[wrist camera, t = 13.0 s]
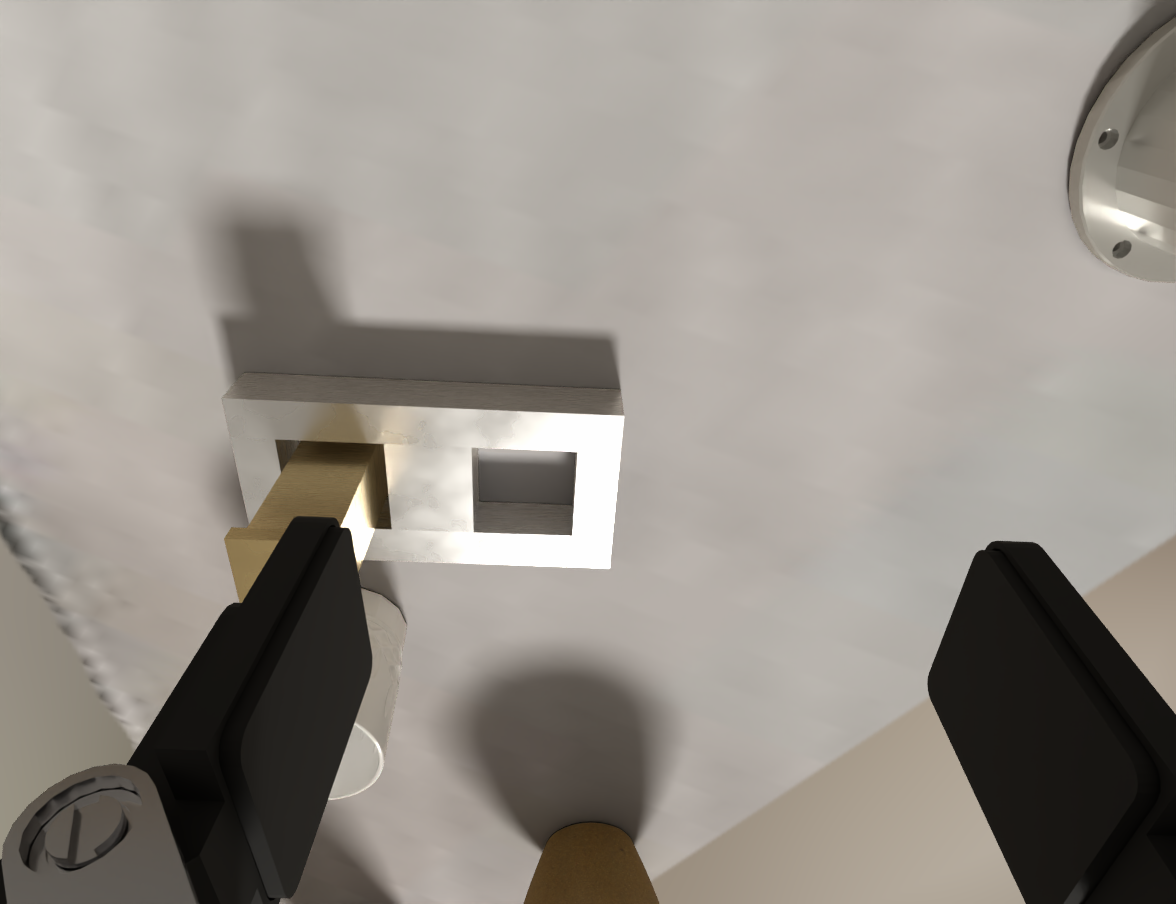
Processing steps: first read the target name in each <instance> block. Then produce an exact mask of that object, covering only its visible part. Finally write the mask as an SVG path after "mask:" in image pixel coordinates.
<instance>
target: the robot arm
mask: <svg viewBox="0 0 1176 904" xmlns="http://www.w3.org/2000/svg"><path fill="white" fill-rule="evenodd" d="M1100 136H1101V137H1100ZM1069 201H1070V208H1071V214H1072V219H1073V222H1074V224H1075V227H1076V229H1077V231H1078V234H1079V236H1080V239H1081V240H1082V241H1083V242H1084V244H1085V245H1086V246H1087V248H1088V249H1089V250H1090V252H1091V253H1092V254H1093V255H1094V256H1095V257H1097V258H1098V259H1099V260H1101V261H1102V262H1103V263H1105V264H1106V265H1107V266H1109V267H1111V268H1113V269H1115V270H1117V271H1120V272H1121V273H1123V274H1125V275H1127V276H1130V277H1134V278H1137V279H1141V280H1145V281H1148V282H1162V283H1176V17H1174V18H1173V19H1172V20H1170V21H1169V22H1168V23H1166V24H1165V25H1163V26H1162V27H1161V28H1159V29H1158V30H1157V31H1155V32H1154V33H1153V34H1152V35H1151V36H1150V37H1149V38H1148V39H1146V40H1145V41H1144V42H1143V43H1142V44H1141V45H1140V46H1139V47H1138V48H1137V49H1136V50H1135V51H1134V52H1133V53H1132V54H1131V55H1130V56H1129V57H1128V58H1127V59H1126V60H1125V62H1124V63H1123V64H1122V65H1121V67H1120V68H1119V69H1118V70H1117V72H1116V73H1115V74H1114V75H1113V77H1112V78H1111V79H1110V80H1109V82H1108V83H1107V84H1106V86H1105V87H1104V89H1103V91H1102V92H1101V94H1100V96H1099V97H1098V99H1097V101H1096V102H1095V104H1094V106H1093V107H1092V109H1091V111H1090V112H1089V114H1088V116H1087V119H1086V121H1085V124H1084V126H1083V128H1082V131H1081V133H1080V136H1079V138H1078V140H1077V143H1076V147H1075V151H1074V156H1073V160H1072V164H1071V168H1070V180H1069ZM372 659H373V657H372V650H371V644H370V638H369V632H368V626H367V620H366V615H365V609H364V603H363V597H362V591H361V586H360V580H359V574H358V568H357V562H356V556H355V551H354V545H353V539H352V534H351V531H350V529H349V528H347V527H340V525H339V522H338V520H337V519H336V518H334V517H312V516H297V517H294V518H293V520H292V521H291V522H290V524H289V525H288V527H287V529H286V530H285V532H284V534H283V535H282V537H281V539H280V540H279V542H278V544H277V545H276V547H275V549H274V550H273V552H272V554H271V555H270V557H269V559H268V560H267V562H266V563H265V565H264V567H263V568H262V570H261V572H260V573H259V575H258V577H257V578H256V580H255V582H254V583H253V585H252V587H251V588H250V590H249V592H248V593H247V595H246V597H245V598H244V600H243V602H242V603H233V604H231V605H229V606H227V608H226V609H225V610H224V611H223V612H222V614H221V615H220V617H219V618H218V620H217V621H216V623H215V625H214V626H213V628H212V629H211V631H210V633H209V634H208V636H207V637H206V639H205V640H204V642H203V644H202V645H201V647H200V648H199V650H198V652H197V653H196V655H195V656H194V658H193V660H192V661H191V663H190V664H189V666H188V668H187V669H186V671H185V672H184V674H183V676H182V677H181V679H180V680H179V682H178V684H177V685H176V687H175V688H174V690H173V692H172V693H171V695H170V696H169V698H168V699H167V701H166V703H165V704H164V706H163V707H162V709H161V711H160V712H159V714H158V715H157V717H156V719H155V720H154V722H153V723H152V725H151V727H150V728H149V730H148V731H147V733H146V735H145V736H144V738H143V739H142V741H141V743H140V744H139V746H138V747H137V749H136V751H135V752H134V754H133V755H132V757H131V759H130V760H129V762H128V763H127V765H122V764H109V765H103V766H96V767H92V768H89V769H86V770H84V771H81V772H78V773H76V774H73V775H70V776H69V777H67V778H65V779H63V780H62V781H60V782H58V783H57V784H55V785H53V786H52V787H50V788H48V789H47V790H46V791H45V792H43V793H42V794H41V795H40V796H39V797H38V798H36V799H35V800H34V801H33V802H31V803H30V804H29V805H28V806H27V807H26V809H25V810H24V811H23V812H22V814H21V815H20V816H19V817H18V818H17V820H16V821H15V822H14V823H13V825H12V827H11V829H10V831H9V833H8V835H7V837H6V840H5V842H4V844H3V852H2V859H1V860H0V904H279V902H280V899H281V898H291V897H292V896H293V894H294V893H295V891H296V889H297V887H298V884H299V881H300V879H301V876H302V873H303V870H304V867H305V864H306V861H307V858H308V855H309V853H310V850H311V847H312V844H313V841H314V838H315V835H316V832H317V830H318V827H319V824H320V821H321V818H322V815H323V812H324V809H325V807H326V804H327V801H328V798H329V795H330V792H331V789H332V786H333V784H334V781H335V778H336V775H337V772H338V769H339V766H340V763H341V760H342V758H343V755H344V752H345V749H346V746H347V743H348V740H349V737H350V735H351V732H352V729H353V726H354V723H355V720H356V717H357V714H358V712H359V709H360V706H361V703H362V700H363V697H364V694H365V691H366V689H367V686H368V683H369V680H370V676H371V671H372ZM928 692H929V696H930V699H931V701H932V703H933V706H934V708H935V710H936V712H937V714H938V716H939V718H940V721H941V723H942V725H943V727H944V729H945V731H946V733H947V736H948V738H949V740H950V742H951V744H952V746H953V749H954V750H955V753H956V755H957V757H958V759H959V761H960V764H961V766H962V768H963V770H964V772H965V774H966V776H967V778H968V780H969V783H970V785H971V787H972V789H973V791H974V794H975V796H976V798H977V800H978V802H979V804H980V806H981V808H982V810H983V813H984V814H985V817H986V819H987V821H988V824H989V826H990V827H991V830H992V832H993V834H994V836H995V838H996V841H997V843H998V845H999V847H1000V849H1001V851H1002V853H1003V856H1004V858H1005V860H1006V862H1007V864H1008V866H1009V868H1010V871H1011V873H1012V875H1013V877H1014V879H1015V881H1016V883H1017V886H1018V887H1019V890H1020V892H1021V894H1022V896H1023V898H1024V901H1025V903H1026V904H1176V714H1175V713H1174V712H1173V711H1172V709H1171V708H1170V707H1169V706H1168V705H1167V703H1166V702H1165V701H1164V700H1163V698H1162V697H1161V696H1160V694H1159V693H1158V692H1157V691H1156V689H1155V688H1154V687H1153V686H1152V685H1151V683H1150V682H1149V681H1148V679H1147V678H1146V677H1145V676H1144V674H1143V673H1142V672H1141V671H1140V669H1139V668H1138V667H1137V666H1136V664H1135V663H1134V662H1133V661H1132V659H1131V658H1130V657H1129V656H1128V654H1127V653H1126V652H1125V651H1124V649H1123V648H1122V647H1121V646H1120V645H1119V643H1118V642H1117V641H1116V639H1115V638H1114V637H1113V636H1112V634H1111V633H1110V632H1109V631H1108V629H1107V628H1106V627H1105V626H1104V625H1103V623H1102V622H1101V621H1100V619H1099V618H1098V617H1097V616H1096V615H1095V613H1094V612H1093V611H1092V609H1091V608H1090V607H1089V606H1088V605H1087V603H1086V602H1085V601H1084V600H1083V598H1082V597H1081V596H1080V594H1079V593H1078V592H1077V591H1076V589H1075V588H1074V587H1073V586H1072V584H1071V583H1070V582H1069V581H1068V579H1067V578H1066V577H1065V576H1064V574H1063V573H1062V572H1061V571H1060V569H1059V568H1058V567H1057V566H1056V564H1055V563H1054V562H1053V561H1052V559H1051V558H1050V557H1049V556H1048V555H1047V553H1046V552H1045V551H1044V550H1043V548H1042V547H1040V546H1039V545H1038V544H1036V543H1033V542H1012V541H994V542H991V543H990V544H989V545H988V546H987V548H986V549H985V550H981V551H978V552H977V553H976V555H975V556H974V558H973V561H972V563H971V566H970V569H969V571H968V574H967V576H966V579H965V582H964V584H963V587H962V589H961V592H960V594H959V597H958V600H957V602H956V605H955V607H954V610H953V613H952V615H951V618H950V620H949V623H948V625H947V628H946V631H945V633H944V636H943V638H942V641H941V644H940V646H939V649H938V651H937V654H936V657H935V659H934V662H933V664H932V667H931V669H930V672H929V676H928Z"/></svg>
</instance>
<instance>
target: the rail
mask: <svg viewBox="0 0 1176 904" xmlns="http://www.w3.org/2000/svg"><path fill="white" fill-rule="evenodd" d="M221 399H222V404H223V408H224V413H225V417H226V422H227V426H228V431H229V436H230V440H231V445H232V449H233V454H234V458H235V463H236V468H237V472H238V477H239V481H240V486H241V490H242V495H243V499H244V504H245V509H246V513H247V518H248V522H249V524H250V522H251V521H252V519H253V518H254V516H255V514H256V513H257V511H258V509H259V508H260V506H261V505H262V503H263V501H264V500H265V498H266V497H267V495H268V493H269V492H270V490H271V489H272V487H273V485H274V484H275V482H276V480H277V479H278V477H279V476H280V474H281V472H282V471H283V469H284V468H285V466H286V464H287V463H288V461H289V459H290V458H291V456H292V455H293V453H294V451H295V450H296V448H297V447H298V445H299V441H298V440H300V441H324V442H348V443H372V444H384V453H385V463H386V474H387V484H388V495H389V498H386V500H385V503H384V505H383V508H382V511H381V513H380V516H379V519H378V521H377V524H376V527H375V529H374V532H373V535H372V537H371V540H370V543H369V545H368V548H367V551H366V553H365V556H364V559H363V560H375V561H404V562H434V563H463V564H493V565H522V566H552V567H581V568H610V557H611V547H612V537H613V527H614V516H615V506H616V496H617V485H618V475H619V465H620V455H621V444H622V434H623V424H624V410H623V402H622V395H621V390H619V389H597V388H575V387H553V386H531V385H509V384H487V383H465V382H443V381H421V380H399V379H378V378H356V377H334V376H312V375H290V374H268V373H246V372H244V373H243V374H242V376H241V377H240V378H239V379H238V380H237V381H236V382H235V383H234V385H233V386H232V387H231V388H230V389H229V390H228V391H227V392H226V394H225V395H224V396H223V397H222V398H221ZM478 448H493V449H517V450H542V451H566V452H575V469H574V485H573V502H572V505H559V504H533V503H507V502H480V501H479V458H478Z"/></svg>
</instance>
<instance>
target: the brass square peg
mask: <svg viewBox="0 0 1176 904" xmlns="http://www.w3.org/2000/svg"><path fill="white" fill-rule="evenodd" d="M387 495H388V484H387V474H386V463H385V453H384V444H372V443H348V442H324V441H301V442H300V443H299V445H298V447H297V448H296V450H295V451H294V453H293V455H292V456H291V458H290V459H289V461H288V463H287V464H286V466H285V468H284V469H283V471H282V472H281V474H280V476H279V477H278V479H277V480H276V482H275V484H274V485H273V487H272V489H271V490H270V492H269V493H268V495H267V497H266V498H265V500H264V501H263V503H262V505H261V506H260V508H259V509H258V511H257V513H256V514H255V516H254V518H253V519H252V521H251V522H250V524H249V526H248V527H247V528H234V527H231V529H230V531H229V532H228V534H227V535H226V537H225V538H224V541H225V545H226V549H227V553H228V557H229V561H230V565H231V569H232V573H233V577H234V581H235V585H236V589H237V593H238V597H239V602H240V603H242V602H243V600H244V598H245V597H246V595H247V593H248V592H249V590H250V588H251V587H252V585H253V583H254V582H255V580H256V578H257V577H258V575H259V573H260V572H261V570H262V568H263V567H264V565H265V563H266V562H267V560H268V559H269V557H270V555H271V554H272V552H273V550H274V549H275V547H276V545H277V544H278V542H279V540H280V539H281V537H282V535H283V534H284V532H285V530H286V529H287V527H288V525H289V524H290V522H291V521H292V520H293V518H294V517H297V516H312V517H334V518H336V519H337V520H338V522H339V525H340V527H347V528H349V529H350V531H351V534H352V539H353V545H354V551H355V556H356V562H357V568H358V572H359V569H360V567H361V564H362V561H363V559H364V556H365V553H366V551H367V548H368V545H369V543H370V540H371V537H372V535H373V532H374V529H375V527H376V524H377V521H378V519H379V516H380V513H381V511H382V508H383V505H384V503H385V500H386V497H387Z"/></svg>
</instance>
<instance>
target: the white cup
mask: <svg viewBox="0 0 1176 904" xmlns="http://www.w3.org/2000/svg"><path fill="white" fill-rule="evenodd" d="M361 591H362V597H363V603H364V609H365V615H366V620H367V626H368V632H369V638H370V644H371V650H372V657H373V659H372V671H371V676H370V680H369V683H368V686H367V689H366V691H365V694H364V697H363V700H362V703H361V706H360V709H359V712H358V714H357V717H356V720H355V723H354V726H353V729H352V732H351V735H350V737H349V740H348V743H347V746H346V749H345V752H344V755H343V758H342V760H341V763H340V766H339V769H338V772H337V775H336V778H335V781H334V784H333V786H332V789H331V792H330V795H329V798H328V800H334V799H340V798H345V797H349V796H352V795H355V794H357V793H360V792H362V791H363V790H365V789H367V788H368V787H370V786H371V785H372V784H373V783H374V782H375V781H376V780H377V779H378V777H379V776H380V774H381V772H382V769H383V765H384V760H385V755H386V749H387V744H388V739H389V734H390V729H391V724H392V719H393V713H394V708H395V703H396V698H397V692H398V687H399V680H400V673H401V668H402V662H401V659H402V652H403V647H404V642H405V635H406V629H407V625H406V623H405V621H404V619H403V616H402V614H401V612H400V610H399V608H397V607H396V606H395V605H394V604H392V603H391V602H390V601H389V600H387V599H386V598H385V597H384V596H382V595H380V594H377V593H374V592H371V591H368V590H365V589H362V588H361Z"/></svg>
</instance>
